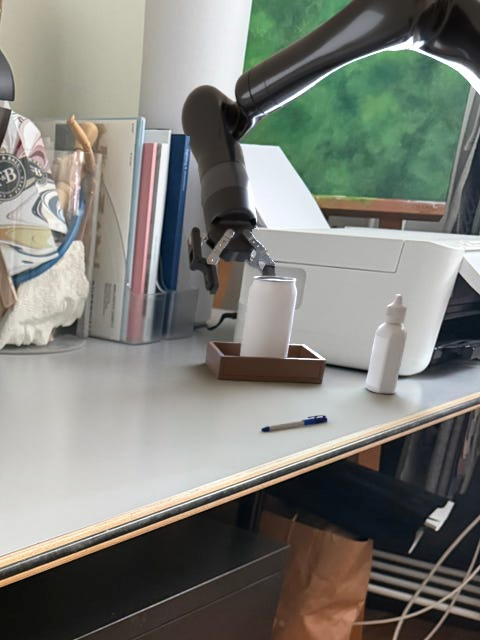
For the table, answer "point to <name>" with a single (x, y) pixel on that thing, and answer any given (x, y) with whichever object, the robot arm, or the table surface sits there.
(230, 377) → the tray
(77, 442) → the table surface
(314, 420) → the ballpoint pen
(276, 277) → the can
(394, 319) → the eye dropper bottle
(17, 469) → the table surface
